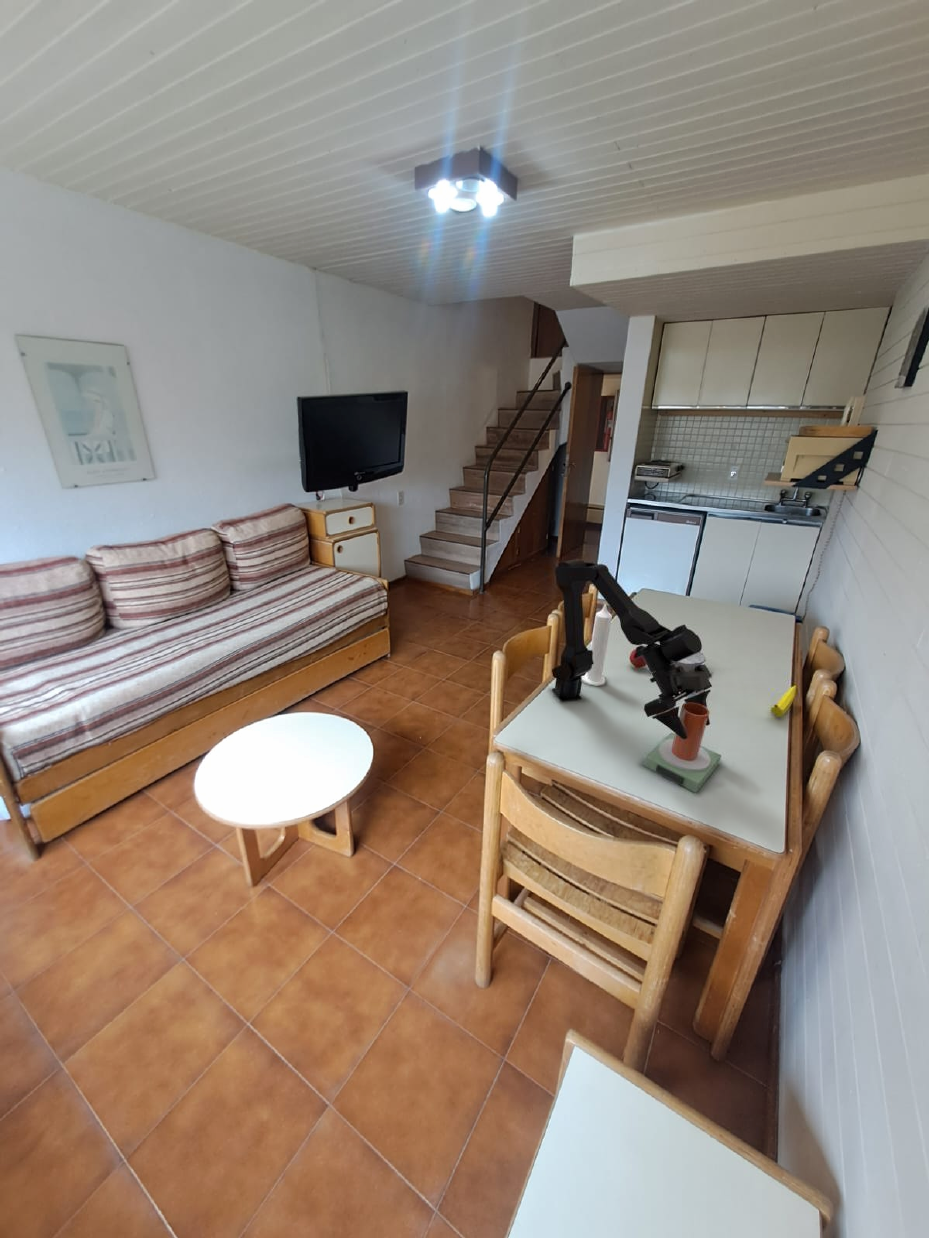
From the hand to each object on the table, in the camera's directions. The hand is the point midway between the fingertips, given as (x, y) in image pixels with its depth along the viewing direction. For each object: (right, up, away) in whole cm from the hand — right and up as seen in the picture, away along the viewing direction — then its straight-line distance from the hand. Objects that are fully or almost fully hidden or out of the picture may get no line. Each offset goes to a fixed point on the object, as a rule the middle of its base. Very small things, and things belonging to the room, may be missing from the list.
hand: (697, 731), depth 110 cm
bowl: (+19, +9, +50) cm, 55 cm away
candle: (-13, +6, +40) cm, 43 cm away
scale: (-1, -9, +5) cm, 10 cm away
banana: (+36, -1, +27) cm, 45 cm away
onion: (+4, +9, +48) cm, 49 cm away
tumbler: (-1, -6, +4) cm, 7 cm away
